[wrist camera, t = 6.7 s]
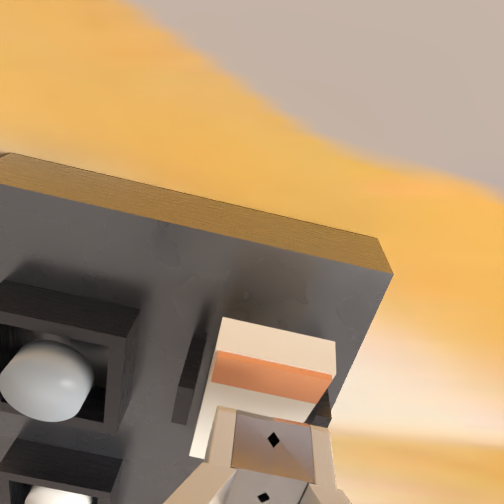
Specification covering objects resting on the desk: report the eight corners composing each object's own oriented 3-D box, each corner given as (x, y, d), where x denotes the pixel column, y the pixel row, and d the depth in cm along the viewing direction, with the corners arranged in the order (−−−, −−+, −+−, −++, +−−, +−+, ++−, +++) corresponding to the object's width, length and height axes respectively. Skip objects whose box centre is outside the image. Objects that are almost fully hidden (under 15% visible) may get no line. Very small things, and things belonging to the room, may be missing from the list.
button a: (94, 509, 23) (85, 532, 22) (37, 498, 23) (25, 521, 22) (96, 475, 22) (86, 498, 21) (35, 463, 22) (23, 485, 21)
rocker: (274, 423, 21) (270, 477, 19) (199, 407, 20) (187, 460, 19) (334, 315, 14) (336, 379, 13) (228, 291, 14) (214, 353, 12)
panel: (261, 516, 29) (257, 621, 24) (29, 470, 28) (-28, 568, 23) (377, 238, 18) (414, 320, 13) (11, 152, 17) (-102, 204, 12)
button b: (92, 404, 18) (80, 428, 17) (18, 389, 18) (1, 412, 17) (96, 349, 16) (83, 371, 15) (14, 332, 16) (-5, 353, 15)
